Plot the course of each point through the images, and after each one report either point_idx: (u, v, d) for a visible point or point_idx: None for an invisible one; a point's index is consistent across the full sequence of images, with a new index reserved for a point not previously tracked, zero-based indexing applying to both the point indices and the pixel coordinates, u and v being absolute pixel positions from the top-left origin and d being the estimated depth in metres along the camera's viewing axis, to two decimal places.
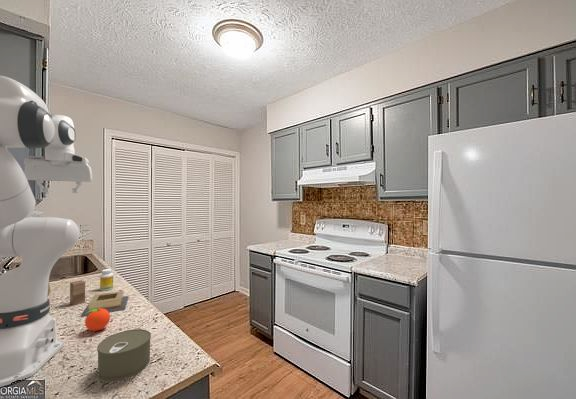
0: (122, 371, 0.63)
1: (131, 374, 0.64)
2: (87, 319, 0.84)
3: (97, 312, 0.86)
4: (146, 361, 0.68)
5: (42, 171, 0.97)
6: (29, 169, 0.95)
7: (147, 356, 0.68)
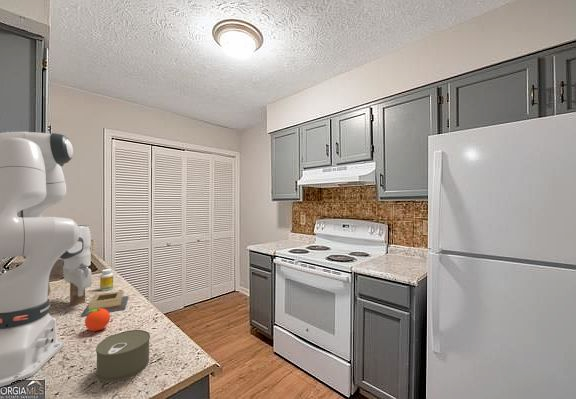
0: (121, 372, 0.62)
1: (130, 375, 0.64)
2: (87, 319, 0.84)
3: (97, 312, 0.86)
4: (145, 362, 0.67)
5: None
6: None
7: (146, 357, 0.68)
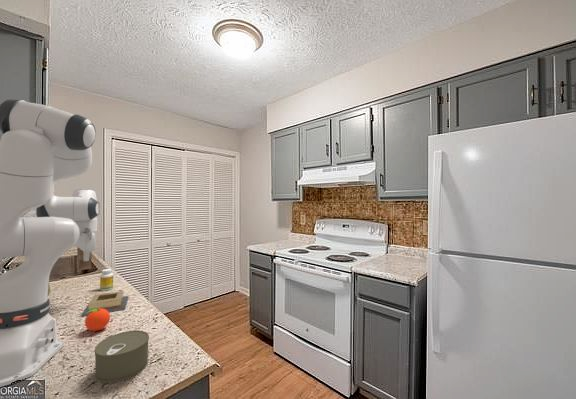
0: (119, 373, 0.62)
1: (129, 376, 0.63)
2: (87, 319, 0.84)
3: (97, 312, 0.86)
4: (144, 363, 0.67)
5: None
6: None
7: (145, 358, 0.67)
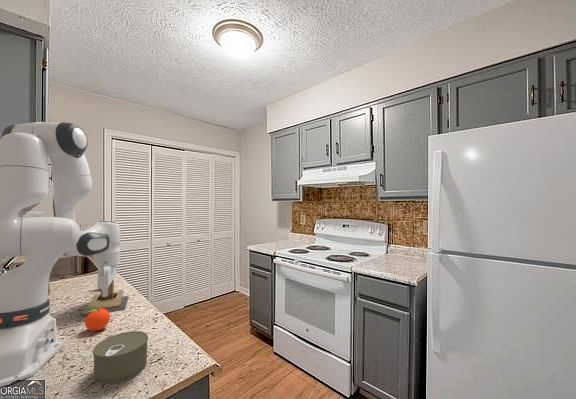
0: (118, 375, 0.62)
1: (127, 377, 0.63)
2: (87, 319, 0.84)
3: (97, 312, 0.86)
4: (143, 364, 0.67)
5: (110, 276, 1.03)
6: (109, 277, 1.00)
7: (144, 359, 0.67)
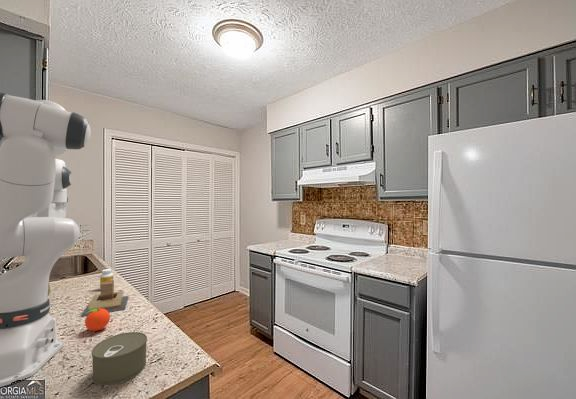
0: (117, 376, 0.61)
1: (126, 378, 0.62)
2: (87, 319, 0.84)
3: (97, 312, 0.86)
4: (142, 365, 0.66)
5: (54, 213, 1.02)
6: (50, 212, 0.98)
7: (143, 360, 0.67)
